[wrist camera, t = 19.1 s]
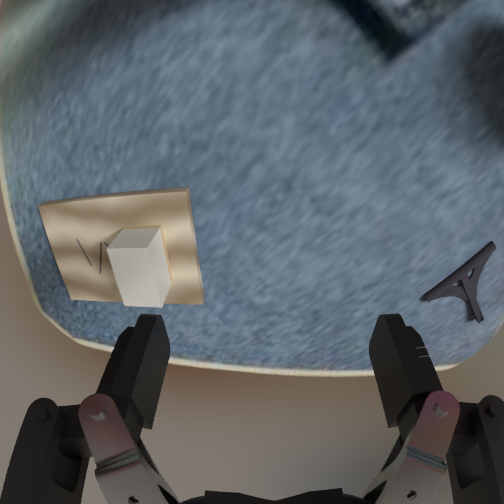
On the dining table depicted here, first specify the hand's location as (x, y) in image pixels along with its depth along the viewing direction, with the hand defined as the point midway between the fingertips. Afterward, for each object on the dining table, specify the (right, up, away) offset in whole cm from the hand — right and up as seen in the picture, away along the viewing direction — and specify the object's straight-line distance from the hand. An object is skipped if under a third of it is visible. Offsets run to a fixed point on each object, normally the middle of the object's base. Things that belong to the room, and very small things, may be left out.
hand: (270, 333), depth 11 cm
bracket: (+36, -4, +31) cm, 48 cm away
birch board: (-19, +3, +28) cm, 34 cm away
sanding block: (-14, +3, +27) cm, 30 cm away
